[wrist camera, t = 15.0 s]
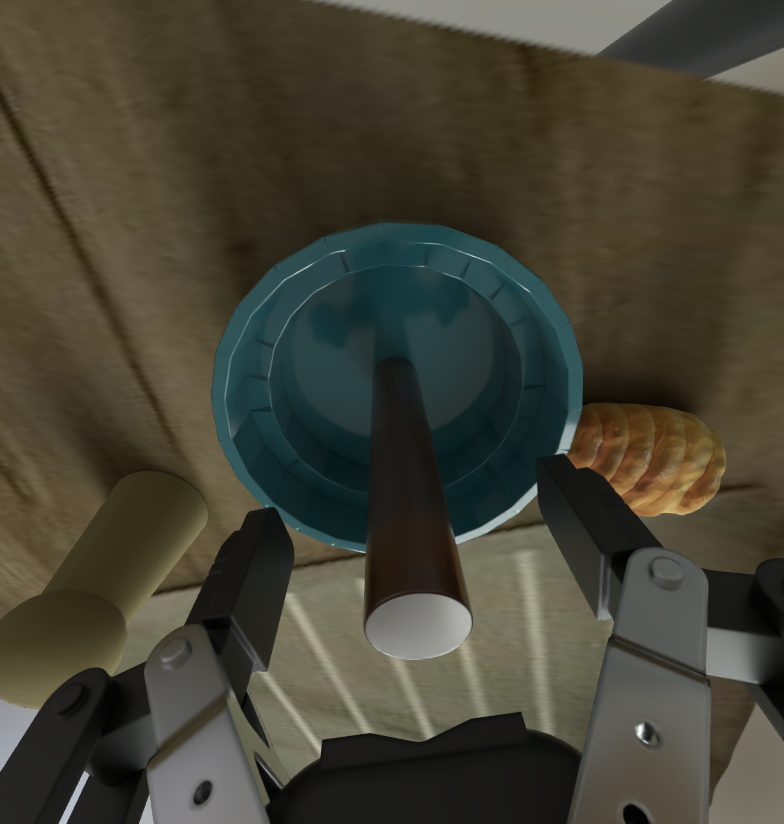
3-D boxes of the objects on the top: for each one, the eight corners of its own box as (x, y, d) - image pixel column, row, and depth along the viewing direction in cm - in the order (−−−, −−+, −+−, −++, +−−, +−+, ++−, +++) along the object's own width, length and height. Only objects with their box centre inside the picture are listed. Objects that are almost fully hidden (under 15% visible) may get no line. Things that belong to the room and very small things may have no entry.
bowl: (524, 183, 17) (588, 172, 12) (536, 456, 24) (580, 525, 19) (206, 260, 18) (137, 280, 13) (305, 500, 25) (286, 576, 20)
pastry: (522, 467, 25) (545, 507, 21) (575, 373, 22) (611, 403, 18) (646, 498, 26) (686, 541, 23) (710, 414, 23) (767, 449, 20)
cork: (208, 546, 27) (112, 735, 17) (116, 534, 26) (-38, 724, 17) (208, 479, 24) (96, 657, 15) (107, 463, 24) (-84, 640, 14)
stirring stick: (412, 352, 20) (467, 582, 8) (420, 393, 21) (479, 651, 9) (368, 362, 20) (350, 602, 8) (378, 401, 21) (376, 668, 9)
